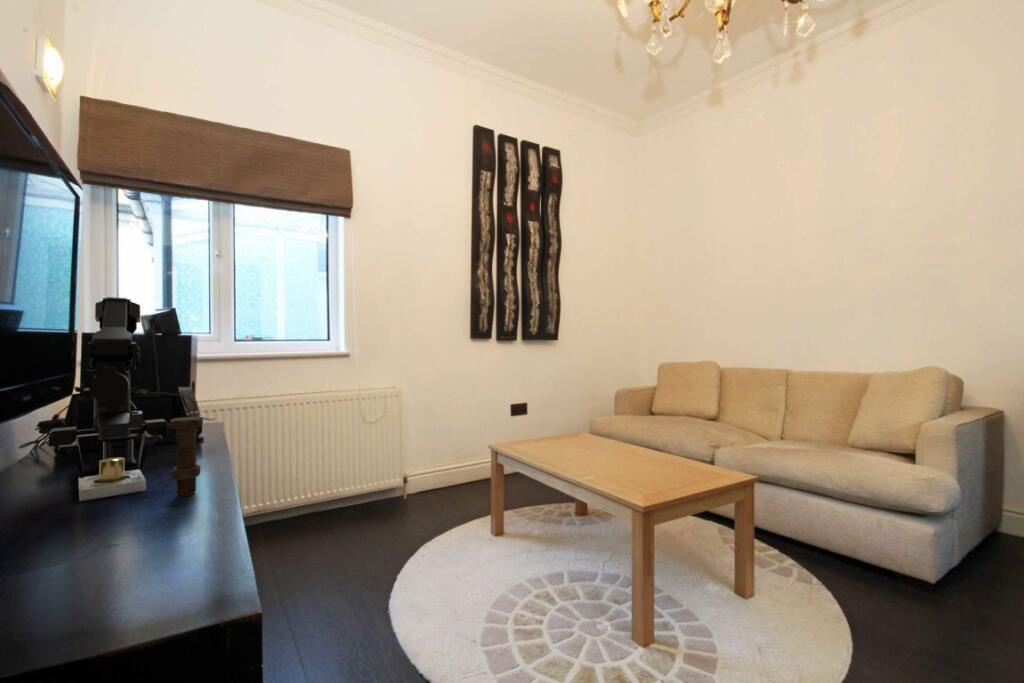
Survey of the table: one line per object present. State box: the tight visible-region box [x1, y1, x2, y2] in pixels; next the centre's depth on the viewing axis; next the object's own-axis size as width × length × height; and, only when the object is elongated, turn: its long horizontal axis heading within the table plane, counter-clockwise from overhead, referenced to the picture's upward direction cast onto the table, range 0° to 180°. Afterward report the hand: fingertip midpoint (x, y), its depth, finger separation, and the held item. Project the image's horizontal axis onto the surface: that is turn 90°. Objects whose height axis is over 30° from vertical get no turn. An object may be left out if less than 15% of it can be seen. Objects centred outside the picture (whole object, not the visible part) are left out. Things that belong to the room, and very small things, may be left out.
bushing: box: [98, 458, 126, 483], centre depth 98 cm, size 4×4×6 cm
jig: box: [78, 468, 147, 502], centre depth 98 cm, size 12×10×2 cm
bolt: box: [169, 416, 204, 497], centre depth 94 cm, size 6×5×15 cm
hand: (112, 473), depth 98 cm, fingers open, 9 cm apart
